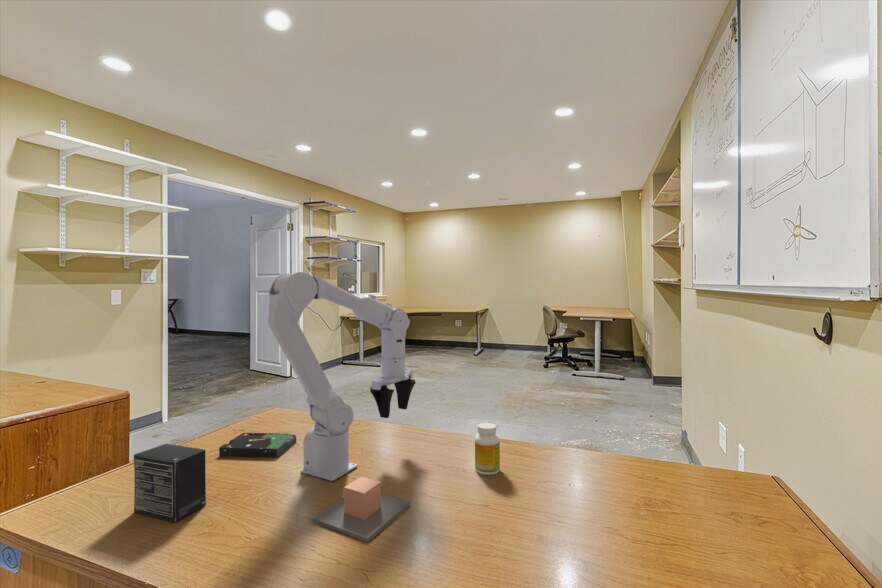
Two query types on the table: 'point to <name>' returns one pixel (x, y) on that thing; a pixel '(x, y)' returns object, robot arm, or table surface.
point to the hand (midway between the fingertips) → (393, 412)
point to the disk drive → (258, 445)
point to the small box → (169, 481)
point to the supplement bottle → (487, 450)
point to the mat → (359, 527)
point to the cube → (362, 497)
